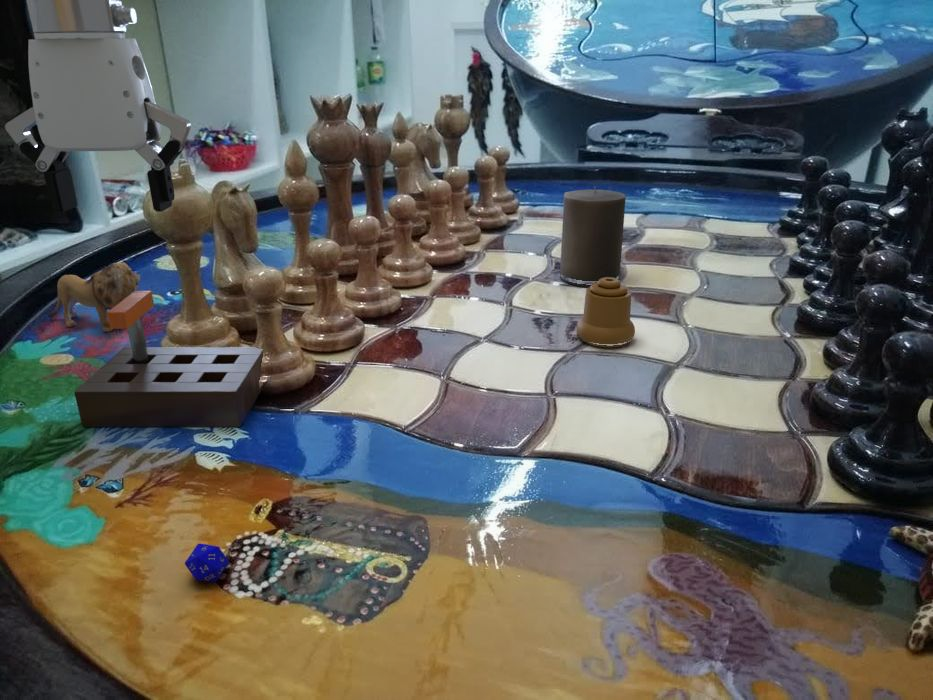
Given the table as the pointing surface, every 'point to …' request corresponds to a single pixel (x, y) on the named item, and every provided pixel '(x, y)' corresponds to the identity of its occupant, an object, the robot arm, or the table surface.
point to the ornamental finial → (606, 314)
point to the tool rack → (173, 388)
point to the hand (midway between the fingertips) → (115, 209)
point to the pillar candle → (592, 235)
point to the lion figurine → (96, 292)
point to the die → (206, 562)
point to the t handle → (133, 321)
